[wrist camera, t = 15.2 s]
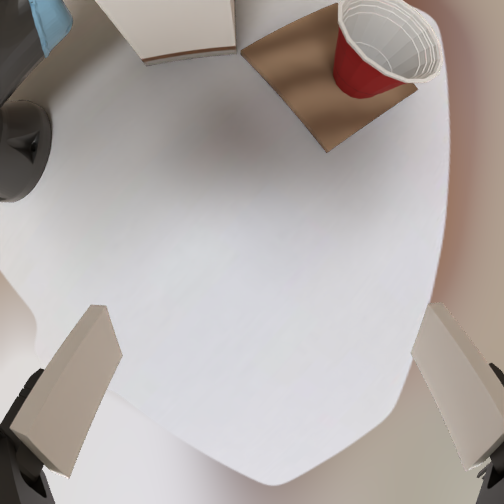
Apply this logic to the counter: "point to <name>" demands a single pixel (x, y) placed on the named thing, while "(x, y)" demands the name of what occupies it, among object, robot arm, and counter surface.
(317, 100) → the walnut board
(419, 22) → the plastic cup
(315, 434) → the counter surface
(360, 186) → the counter surface
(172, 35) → the white dispenser
